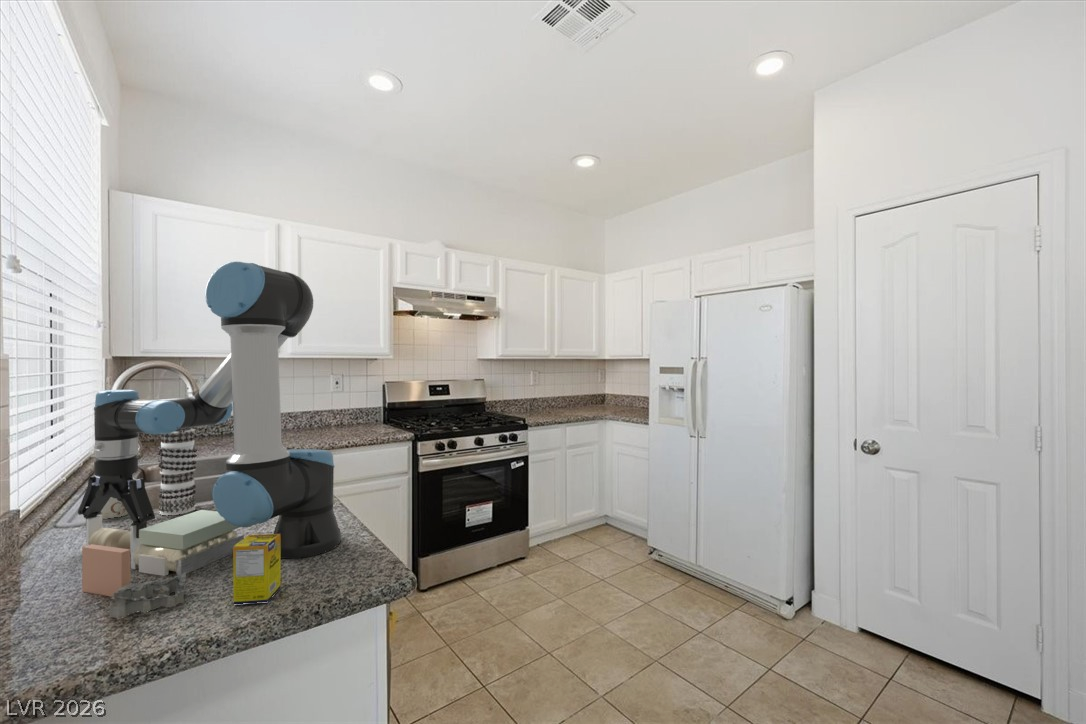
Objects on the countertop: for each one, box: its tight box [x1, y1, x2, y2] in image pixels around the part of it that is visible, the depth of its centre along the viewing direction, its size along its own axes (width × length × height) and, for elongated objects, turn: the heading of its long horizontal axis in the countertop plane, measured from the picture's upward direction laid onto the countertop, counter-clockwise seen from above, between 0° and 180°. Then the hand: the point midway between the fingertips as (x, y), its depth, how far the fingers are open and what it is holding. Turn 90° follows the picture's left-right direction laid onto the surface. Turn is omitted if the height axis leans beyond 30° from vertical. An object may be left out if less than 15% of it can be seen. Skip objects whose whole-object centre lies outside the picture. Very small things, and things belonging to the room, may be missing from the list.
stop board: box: [81, 544, 131, 598], centre depth 90 cm, size 10×2×8 cm, turn 76°
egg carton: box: [108, 573, 187, 619], centre depth 86 cm, size 11×8×4 cm
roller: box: [89, 527, 130, 549], centre depth 109 cm, size 9×5×5 cm, turn 76°
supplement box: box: [232, 533, 282, 605], centre depth 88 cm, size 6×6×11 cm
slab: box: [139, 509, 240, 550], centre depth 106 cm, size 12×14×3 cm
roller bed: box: [130, 530, 245, 576], centre depth 105 cm, size 14×16×5 cm
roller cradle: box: [130, 554, 170, 584], centre depth 95 cm, size 7×8×4 cm
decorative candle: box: [157, 427, 198, 517], centre depth 138 cm, size 9×9×25 cm
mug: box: [100, 477, 135, 520], centre depth 135 cm, size 8×13×10 cm, turn 58°
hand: (115, 548), depth 109 cm, fingers open, 13 cm apart
